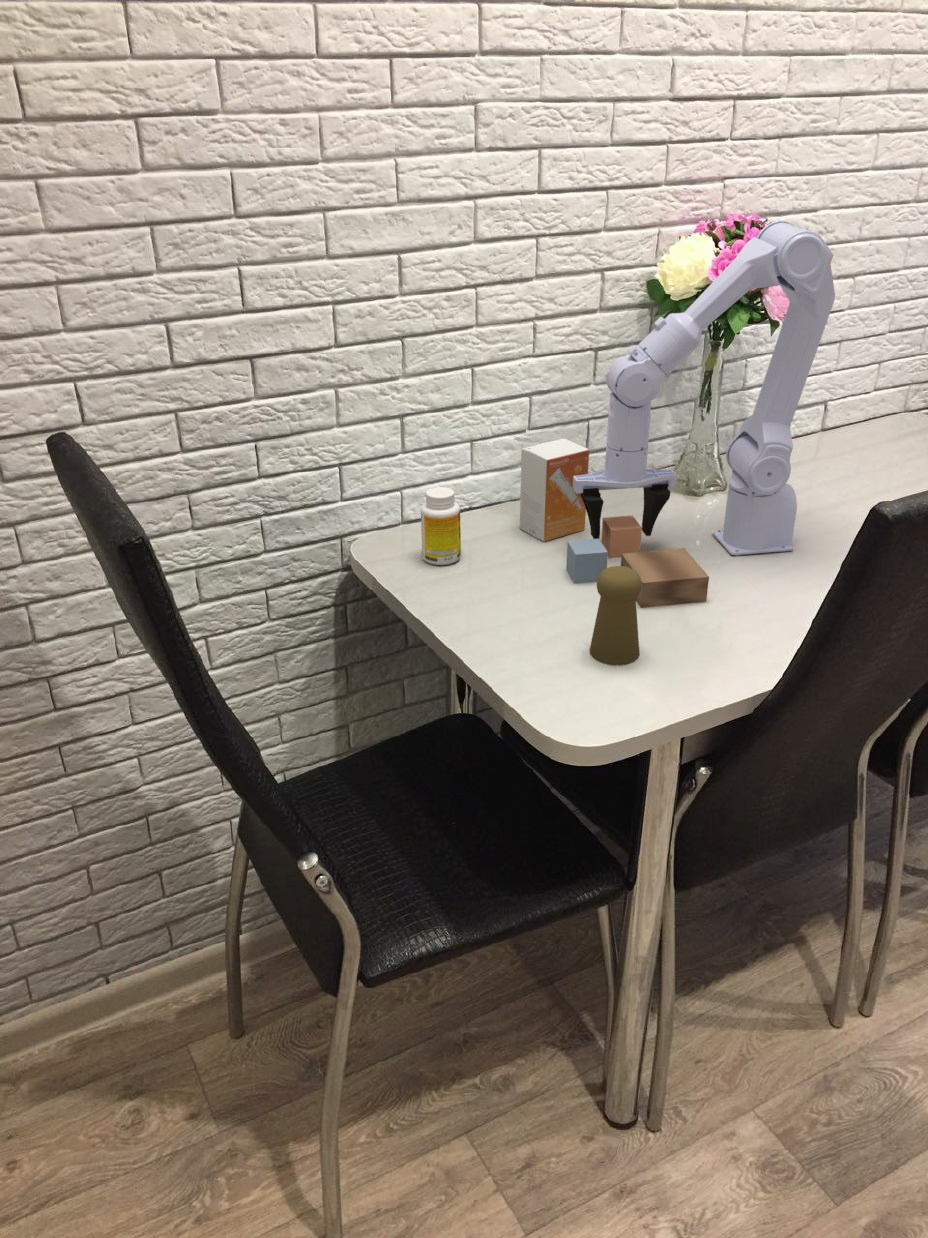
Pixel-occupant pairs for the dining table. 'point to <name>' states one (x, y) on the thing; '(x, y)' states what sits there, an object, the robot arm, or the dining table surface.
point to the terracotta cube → (621, 535)
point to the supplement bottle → (440, 527)
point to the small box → (552, 489)
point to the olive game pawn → (616, 617)
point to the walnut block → (667, 577)
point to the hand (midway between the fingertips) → (620, 535)
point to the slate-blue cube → (585, 560)
